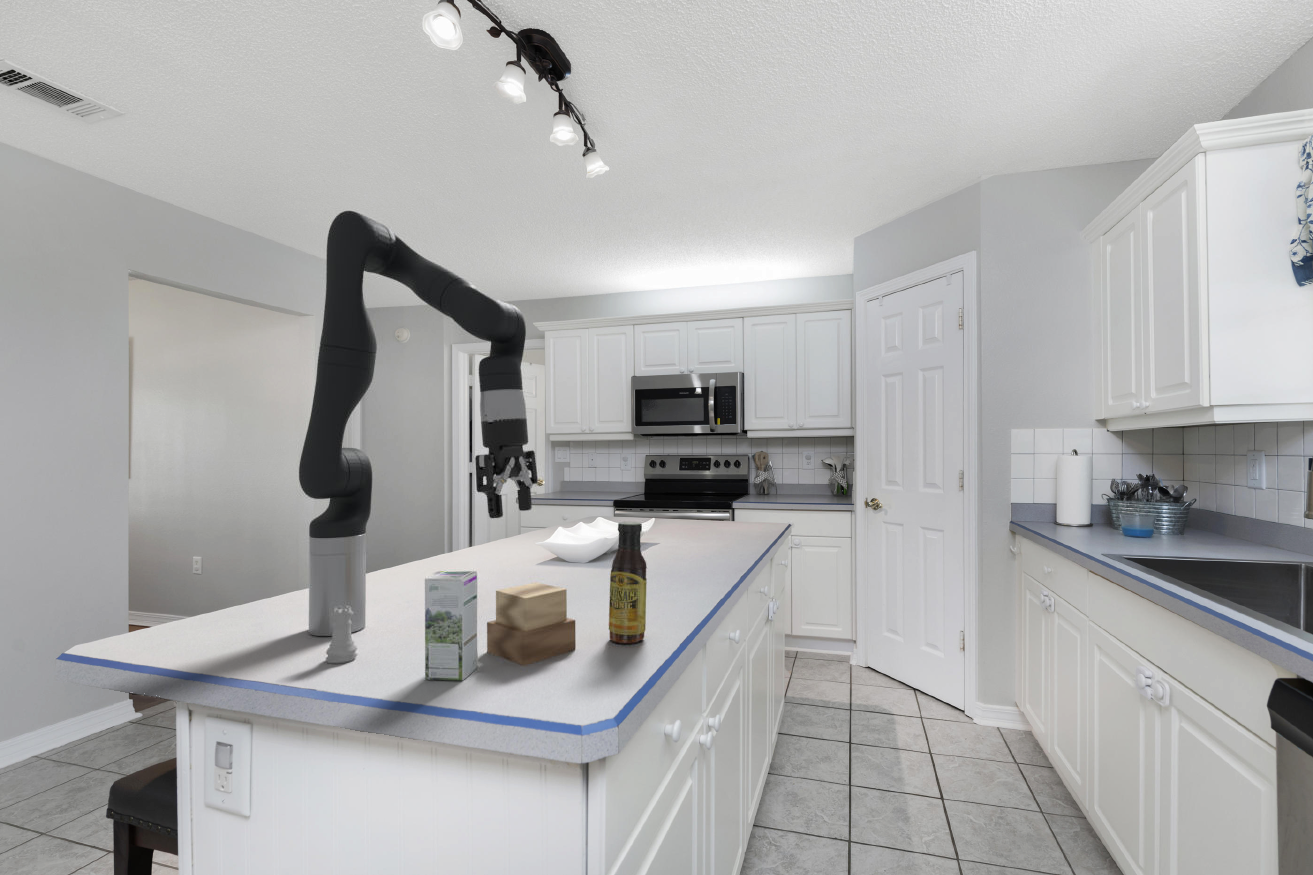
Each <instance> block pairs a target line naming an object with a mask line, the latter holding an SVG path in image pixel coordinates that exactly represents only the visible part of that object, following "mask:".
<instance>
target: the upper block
mask: <svg viewBox="0 0 1313 875" xmlns="http://www.w3.org/2000/svg"><path fill="white" fill-rule="evenodd" d="M567 598H568V597H567V588H563V587H558V586H554V585H550V584H544V583H540V582H533V583H532V582H531V583H529V584H528V583H526V584H522V585H518V586H513V587H507V588H503V589H498V590H495V620H496V622H498V623H501V624H504V625H507V626H511V627H514V628H517V629H520V630H523V631H528V630H532V629H536V628H540V627H543V626H547V625H551V624H555V623H558V622H562V621H566V620H567V618H568V617H567V616H568V615H567V606H568V604H567V600H568V599H567Z"/></svg>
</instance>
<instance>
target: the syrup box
mask: <svg viewBox="0 0 1313 875" xmlns="http://www.w3.org/2000/svg"><path fill="white" fill-rule="evenodd" d="M424 665H425V666H424V668H425V669H424V674H425V675H424V677H425V678H424V679H425V680H426V681H427V680H429V681H430V680H431V681H464V680H465V679H466V678H468V677H469V676H470V675H472V673H473V672H475V671H476V670H477V669H478V666H479V657H478V572H477V571H476V570H474V571H473V570H464V571H463V570H439V571H436V572H433V573H432V574H430V575H428V576H427V577H425V578H424Z"/></svg>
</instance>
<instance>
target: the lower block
mask: <svg viewBox="0 0 1313 875" xmlns="http://www.w3.org/2000/svg"><path fill="white" fill-rule="evenodd" d="M575 649H577V648H576V620H575V619H573V618H569V617H567V620H566V621H562V622H558V623H555V624H551V625H547V626H543V627H540V628H536V629H532V630H528V631H523V630H520V629H517V628H514V627H511V626H507V625H504V624H501V623H498V622H496V619H495V620H491V621H490V620H489V621H486V651H487V653H489V654H492V655H493V656H494V655H495V656H498V657H499V658H502V659H505V660H508V661H510V662H513V663H516V664H518V665H521V666H523V667H525V666H528V665H531V664H534V663H537V662H540V661H543V660H548V659H551V658H554V657H557V656H559V655H563V654H566V653H569V652H572V651H575Z"/></svg>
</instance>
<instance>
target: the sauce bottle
mask: <svg viewBox="0 0 1313 875" xmlns="http://www.w3.org/2000/svg"><path fill="white" fill-rule="evenodd" d="M617 526H618V527H617V531H618V545H617V546H618V548H617V551H616V553H615V556H614V558H613V560H612V564H611V569H610V577H609V603H608V604H609V609H608V610H609V612H608V630H609V640H611V641H612V642H614V643H617V644H630V645H631V644H636V643H640V642H641V641H643V640H644V638H645V632H646V624H647V623H646V621H647V619H646V618H647V617H646V616H647V584H648V583H647V569H648V567H647V561H646V559H645V557H644V556H643V555H642V551H641V547H642V545H641V533H642V530H643V524H642V523H641V522H637V521H619V522H618V525H617Z"/></svg>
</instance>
